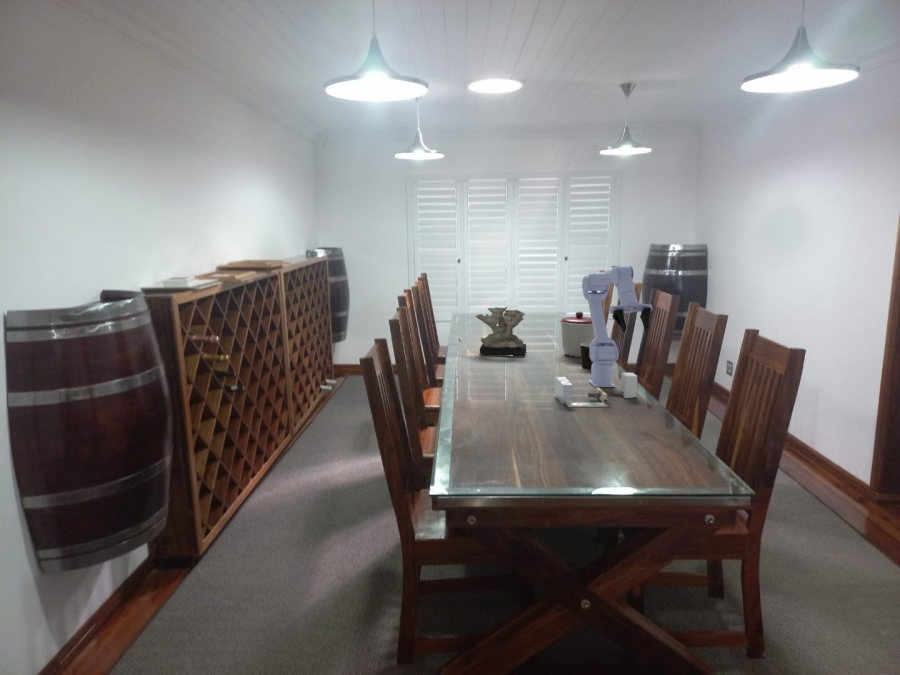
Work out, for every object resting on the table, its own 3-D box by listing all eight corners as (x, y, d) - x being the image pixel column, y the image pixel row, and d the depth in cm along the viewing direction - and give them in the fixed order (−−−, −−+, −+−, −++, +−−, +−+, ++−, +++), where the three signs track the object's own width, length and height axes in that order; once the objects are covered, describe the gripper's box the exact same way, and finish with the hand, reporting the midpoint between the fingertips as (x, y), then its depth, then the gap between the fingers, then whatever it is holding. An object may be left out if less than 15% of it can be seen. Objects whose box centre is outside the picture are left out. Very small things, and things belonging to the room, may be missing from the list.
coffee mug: (585, 370, 253) (586, 347, 252) (575, 365, 262) (576, 343, 260) (609, 368, 256) (610, 346, 255) (599, 364, 265) (600, 342, 263)
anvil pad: (584, 395, 213) (585, 387, 213) (598, 395, 214) (599, 387, 213) (595, 406, 200) (596, 398, 200) (610, 406, 200) (611, 398, 200)
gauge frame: (555, 395, 214) (555, 376, 213) (596, 395, 215) (597, 376, 213) (564, 407, 200) (565, 387, 199) (608, 406, 201) (610, 386, 200)
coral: (472, 354, 282) (472, 310, 278) (479, 346, 302) (479, 305, 298) (524, 357, 277) (525, 312, 273) (528, 349, 297) (529, 306, 293)
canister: (569, 349, 296) (571, 308, 292) (603, 354, 285) (605, 311, 281) (551, 355, 282) (553, 311, 278) (586, 360, 271) (588, 315, 267)
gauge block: (612, 393, 217) (613, 372, 216) (631, 393, 217) (632, 372, 216) (616, 397, 212) (618, 376, 211) (635, 397, 212) (637, 376, 211)
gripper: (609, 290, 201) (617, 325, 194) (651, 288, 202) (660, 323, 195) (604, 301, 207) (612, 335, 201) (645, 299, 208) (653, 333, 202)
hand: (635, 330), depth 198 cm, fingers open, 7 cm apart
